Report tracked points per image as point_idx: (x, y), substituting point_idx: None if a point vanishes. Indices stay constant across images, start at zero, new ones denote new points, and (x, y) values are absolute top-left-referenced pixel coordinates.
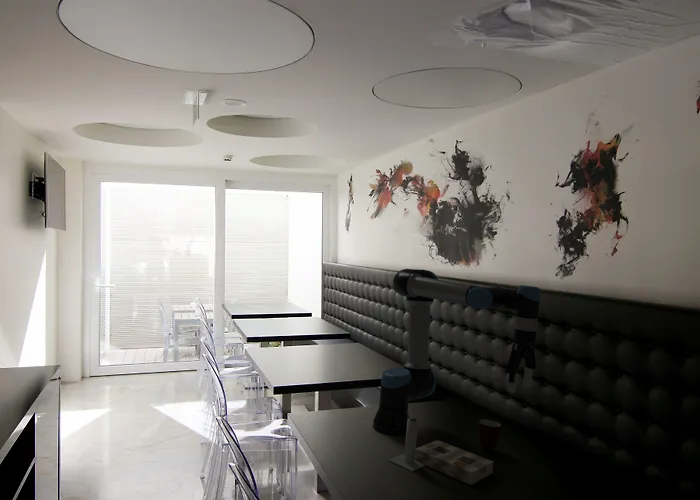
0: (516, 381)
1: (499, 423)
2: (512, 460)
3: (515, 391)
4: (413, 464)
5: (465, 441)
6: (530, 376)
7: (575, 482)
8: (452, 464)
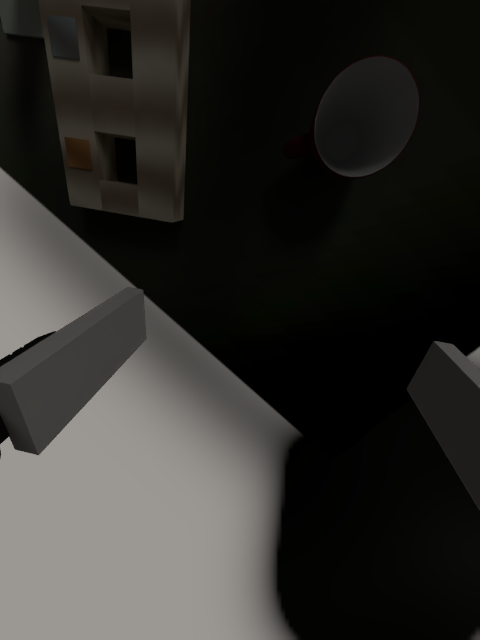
0: (93, 390)
1: (391, 161)
2: (304, 234)
3: (139, 342)
4: (32, 4)
5: (371, 29)
6: (458, 462)
7: (279, 363)
8: (60, 139)
